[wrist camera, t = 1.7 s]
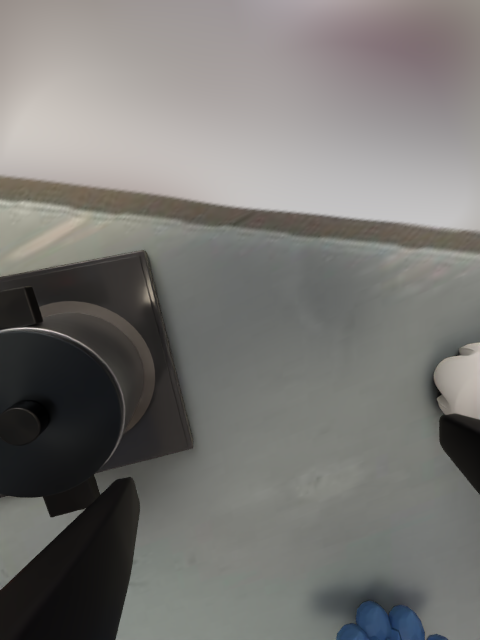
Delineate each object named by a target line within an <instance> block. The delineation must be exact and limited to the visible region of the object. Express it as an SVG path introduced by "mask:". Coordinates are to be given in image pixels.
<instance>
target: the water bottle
mask: <svg viewBox="0 0 480 640" xmlns="http://www.w3.org/2000/svg"><path fill="white" fill-rule="evenodd" d="M459 353H460V356H453V357H448V358H446V359H443V361H442V362H440V363H439V364H438V365H437V367H436V369H435V372H434V382H435V384H436V386H437V388H438V389H439V391H440V392H441V393H442V395H441V396H439V397H438V398H437V401H438V404H439V407H440V409H441V410H442V411H443V412H444V414H445V415H448V414H453V413H456V414H460V415H464V416H468V417H472V418H475V419H479V420H480V343H472V344H467V345H465V346H463V347H461V348H459Z"/></svg>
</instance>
